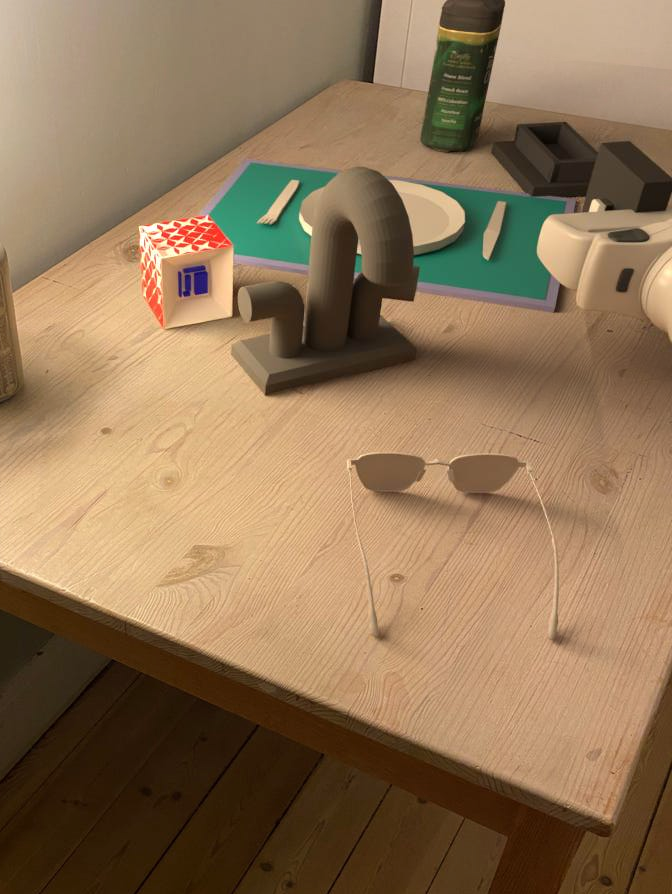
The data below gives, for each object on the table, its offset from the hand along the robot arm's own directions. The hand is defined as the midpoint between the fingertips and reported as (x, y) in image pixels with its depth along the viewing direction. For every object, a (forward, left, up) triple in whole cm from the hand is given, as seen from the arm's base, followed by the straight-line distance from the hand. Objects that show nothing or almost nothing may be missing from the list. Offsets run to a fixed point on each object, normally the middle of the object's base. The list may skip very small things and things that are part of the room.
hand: (618, 204), depth 93 cm
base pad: (+1, -40, -12) cm, 42 cm away
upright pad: (0, +1, -6) cm, 6 cm away
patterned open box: (+43, +5, -12) cm, 45 cm away
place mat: (+23, -19, -13) cm, 32 cm away
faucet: (+25, +16, -12) cm, 32 cm away
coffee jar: (+15, -49, -12) cm, 53 cm away
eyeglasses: (+14, +42, -12) cm, 46 cm away
